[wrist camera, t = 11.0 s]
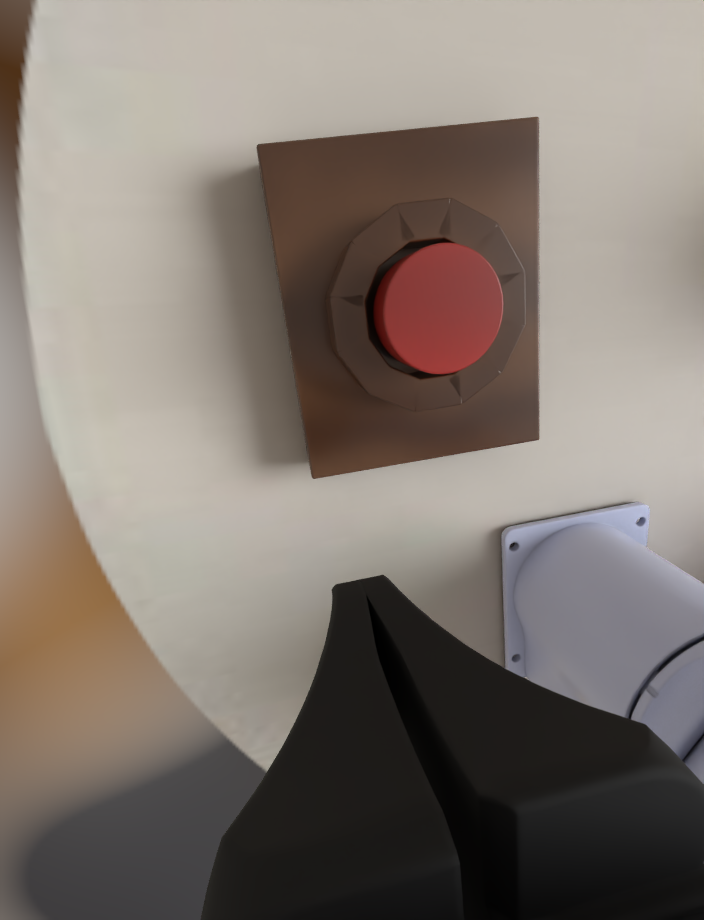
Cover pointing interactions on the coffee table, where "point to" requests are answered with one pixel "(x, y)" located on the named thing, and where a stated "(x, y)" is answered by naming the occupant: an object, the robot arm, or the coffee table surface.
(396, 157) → the switch block
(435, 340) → the button
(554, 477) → the coffee table surface
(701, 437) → the coffee table surface
